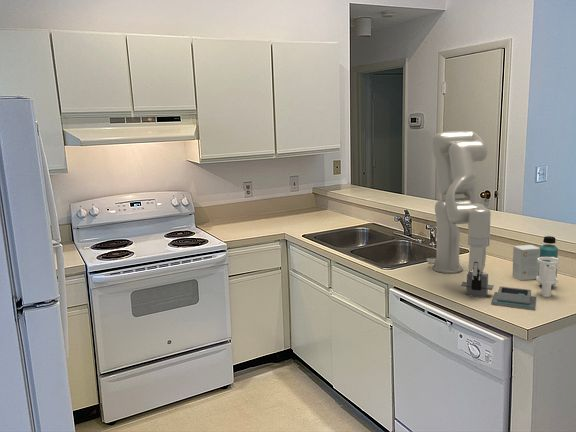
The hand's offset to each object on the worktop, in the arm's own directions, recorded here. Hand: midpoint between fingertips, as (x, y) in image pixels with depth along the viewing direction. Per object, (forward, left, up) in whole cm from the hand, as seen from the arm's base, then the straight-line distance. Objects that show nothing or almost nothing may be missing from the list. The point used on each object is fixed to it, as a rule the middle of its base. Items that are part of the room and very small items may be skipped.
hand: (477, 287), depth 185 cm
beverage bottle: (+23, +18, -3) cm, 29 cm away
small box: (+15, +27, -3) cm, 31 cm away
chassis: (+13, -3, -3) cm, 14 cm away
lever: (0, 0, -3) cm, 3 cm away
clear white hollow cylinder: (+23, +8, -3) cm, 25 cm away
